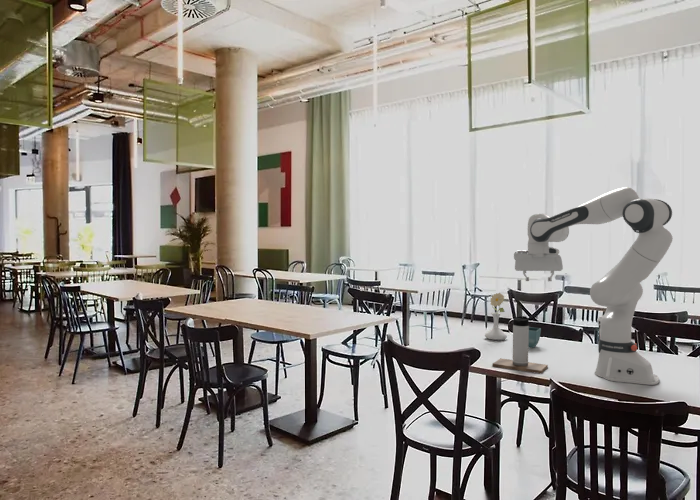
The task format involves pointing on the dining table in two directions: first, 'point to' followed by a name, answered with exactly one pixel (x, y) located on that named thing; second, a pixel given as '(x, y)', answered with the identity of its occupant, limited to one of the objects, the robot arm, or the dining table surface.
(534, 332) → the flower pot
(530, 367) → the walnut board
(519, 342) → the travel mug
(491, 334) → the flower in vase
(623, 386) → the dining table surface
